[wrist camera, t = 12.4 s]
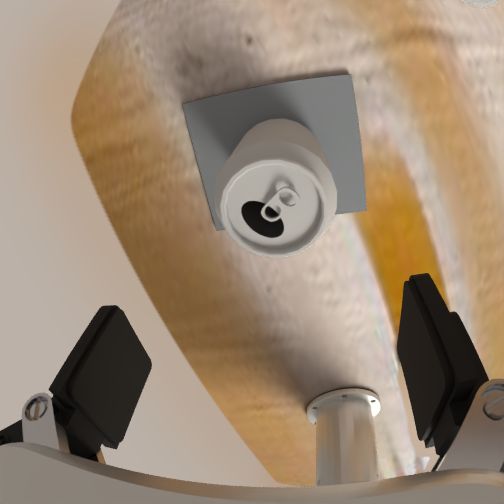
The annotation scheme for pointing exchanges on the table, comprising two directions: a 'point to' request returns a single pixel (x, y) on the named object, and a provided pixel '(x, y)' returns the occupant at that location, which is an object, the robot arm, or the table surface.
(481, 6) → the french press
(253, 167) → the can
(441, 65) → the table surface
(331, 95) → the mat
